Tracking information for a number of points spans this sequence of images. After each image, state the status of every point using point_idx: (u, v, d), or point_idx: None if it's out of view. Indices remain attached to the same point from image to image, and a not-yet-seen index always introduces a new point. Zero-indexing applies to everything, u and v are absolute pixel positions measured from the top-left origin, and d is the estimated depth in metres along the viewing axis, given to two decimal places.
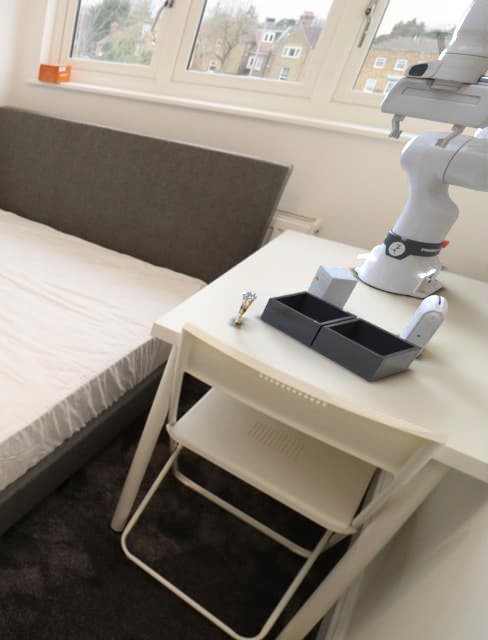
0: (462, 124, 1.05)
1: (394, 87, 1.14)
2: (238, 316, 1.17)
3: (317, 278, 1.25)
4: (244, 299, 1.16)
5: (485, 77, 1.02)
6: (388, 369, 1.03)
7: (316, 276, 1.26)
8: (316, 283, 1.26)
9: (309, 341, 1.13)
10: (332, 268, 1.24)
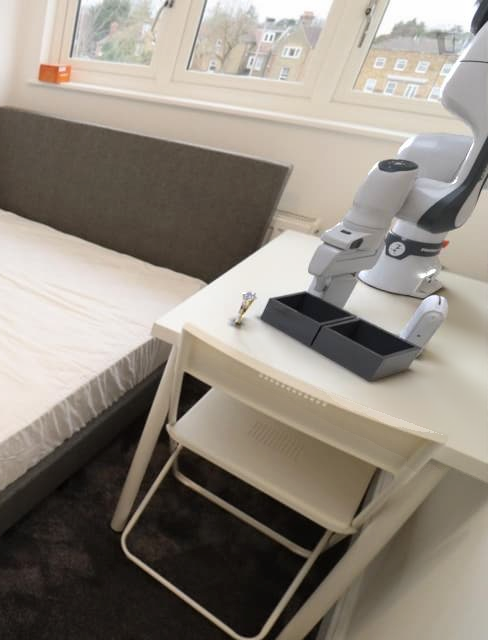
0: (365, 269, 1.22)
1: (335, 259, 1.14)
2: (238, 316, 1.17)
3: None
4: (244, 299, 1.16)
5: None
6: (388, 369, 1.03)
7: None
8: None
9: (309, 341, 1.13)
10: None
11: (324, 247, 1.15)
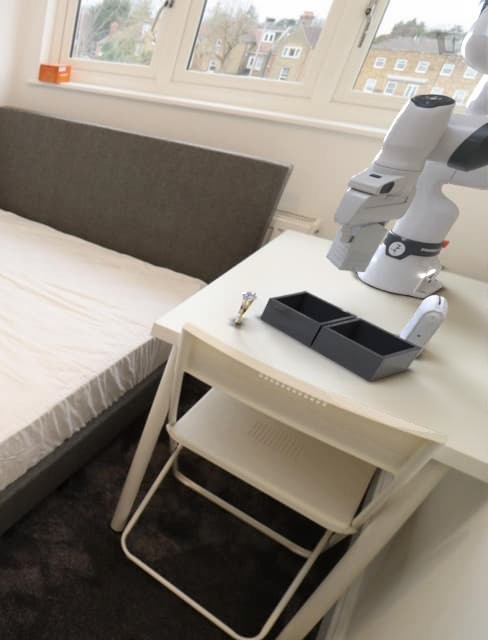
0: (394, 219, 1.15)
1: (363, 205, 1.07)
2: (238, 316, 1.17)
3: None
4: (244, 299, 1.16)
5: None
6: (388, 369, 1.03)
7: (341, 228, 1.19)
8: (341, 235, 1.19)
9: (309, 341, 1.13)
10: None
11: (352, 193, 1.08)
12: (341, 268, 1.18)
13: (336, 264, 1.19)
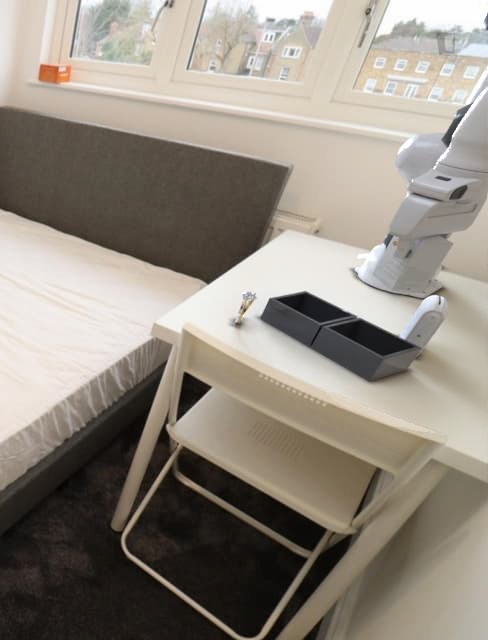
0: (458, 231, 0.97)
1: (428, 213, 0.88)
2: (238, 316, 1.17)
3: (396, 243, 1.00)
4: (244, 299, 1.16)
5: None
6: (388, 369, 1.03)
7: (393, 240, 1.00)
8: (393, 249, 1.00)
9: (309, 341, 1.13)
10: None
11: (413, 199, 0.90)
12: (394, 288, 0.99)
13: (387, 283, 1.00)
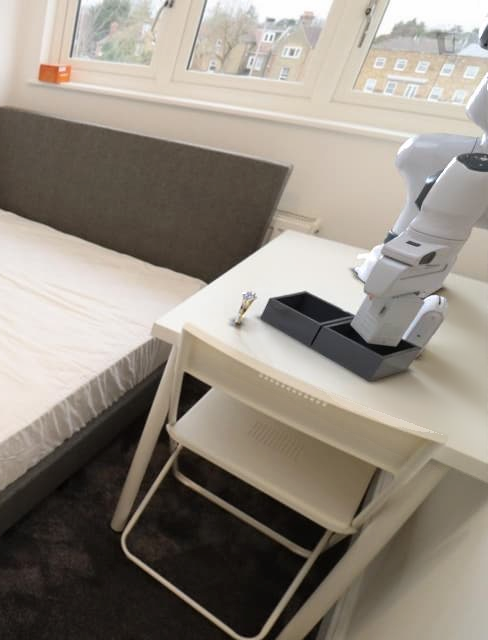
0: (431, 287, 1.01)
1: (399, 277, 0.93)
2: (238, 316, 1.17)
3: (371, 297, 1.04)
4: (244, 299, 1.16)
5: None
6: (388, 369, 1.03)
7: (369, 295, 1.05)
8: (369, 304, 1.05)
9: (309, 341, 1.13)
10: None
11: (385, 262, 0.94)
12: (370, 341, 1.03)
13: (363, 336, 1.05)
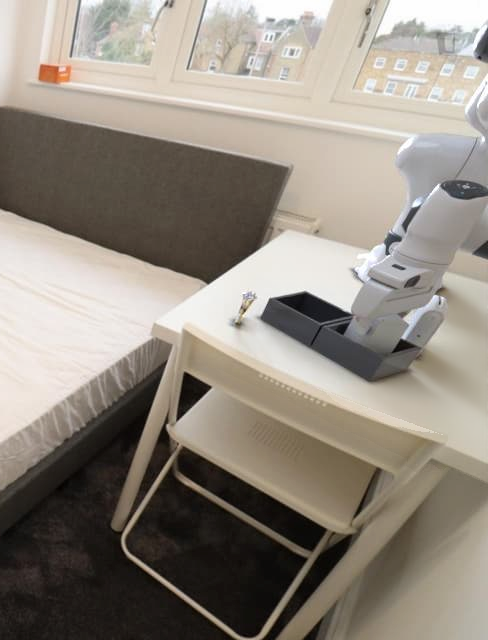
0: None
1: (385, 299, 0.95)
2: (238, 316, 1.17)
3: (358, 319, 1.07)
4: (244, 299, 1.16)
5: None
6: (388, 369, 1.03)
7: (356, 316, 1.08)
8: (356, 325, 1.08)
9: (309, 341, 1.13)
10: None
11: (372, 284, 0.97)
12: None
13: None
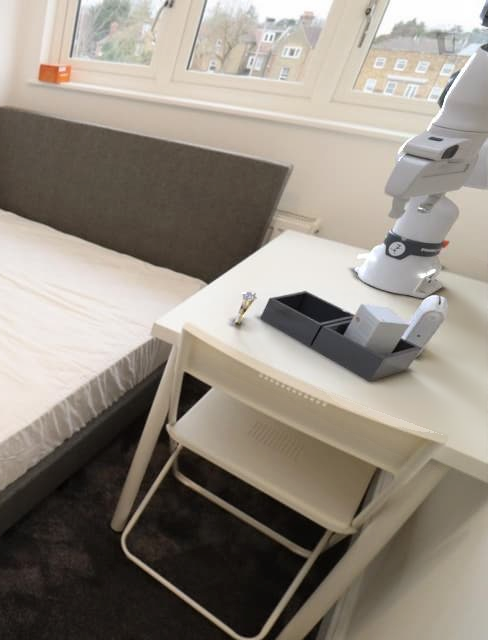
0: (452, 190, 1.01)
1: (422, 173, 0.93)
2: (238, 316, 1.17)
3: (358, 319, 1.07)
4: (244, 299, 1.16)
5: None
6: (388, 369, 1.03)
7: (356, 316, 1.08)
8: (356, 325, 1.08)
9: (309, 341, 1.13)
10: (376, 308, 1.06)
11: (407, 160, 0.94)
12: None
13: None
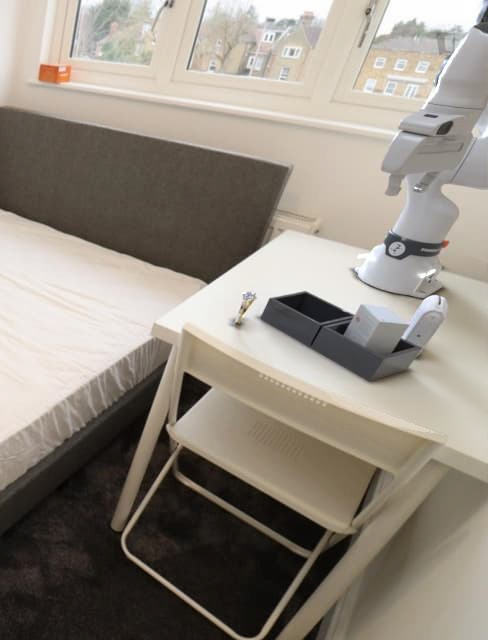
0: (446, 170, 1.04)
1: (417, 148, 0.95)
2: (238, 316, 1.17)
3: (358, 319, 1.07)
4: (244, 299, 1.16)
5: None
6: (388, 369, 1.03)
7: (356, 316, 1.08)
8: (356, 325, 1.08)
9: (309, 341, 1.13)
10: (376, 308, 1.06)
11: (403, 136, 0.97)
12: None
13: None
